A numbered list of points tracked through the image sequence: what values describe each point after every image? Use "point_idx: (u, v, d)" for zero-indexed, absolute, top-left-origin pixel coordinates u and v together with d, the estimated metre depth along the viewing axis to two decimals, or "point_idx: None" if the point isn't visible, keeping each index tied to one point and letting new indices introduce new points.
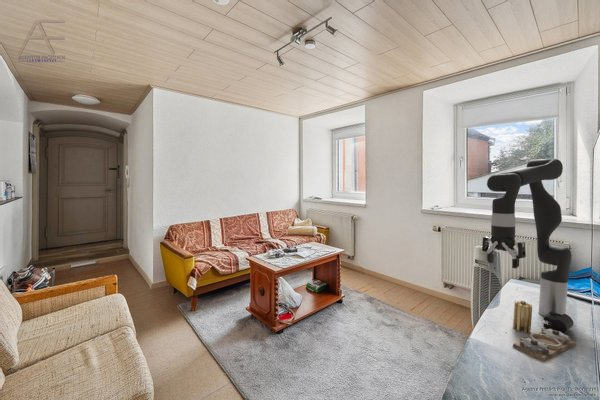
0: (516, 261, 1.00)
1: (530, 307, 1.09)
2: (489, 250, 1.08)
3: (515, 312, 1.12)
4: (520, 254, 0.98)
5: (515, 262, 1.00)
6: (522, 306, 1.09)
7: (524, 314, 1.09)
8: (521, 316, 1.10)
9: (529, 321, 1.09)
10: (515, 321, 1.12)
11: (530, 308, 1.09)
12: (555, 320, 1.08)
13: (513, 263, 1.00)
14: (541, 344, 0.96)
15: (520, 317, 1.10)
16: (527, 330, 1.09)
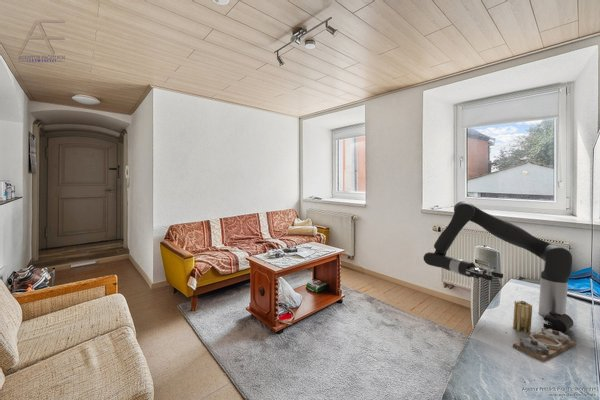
0: (484, 278, 1.20)
1: (530, 307, 1.09)
2: None
3: (515, 312, 1.12)
4: None
5: (485, 278, 1.20)
6: (522, 306, 1.09)
7: (524, 314, 1.09)
8: (521, 316, 1.10)
9: (529, 321, 1.09)
10: (515, 321, 1.12)
11: (530, 308, 1.09)
12: (555, 320, 1.08)
13: (487, 279, 1.20)
14: (541, 344, 0.96)
15: (520, 317, 1.10)
16: (527, 330, 1.09)
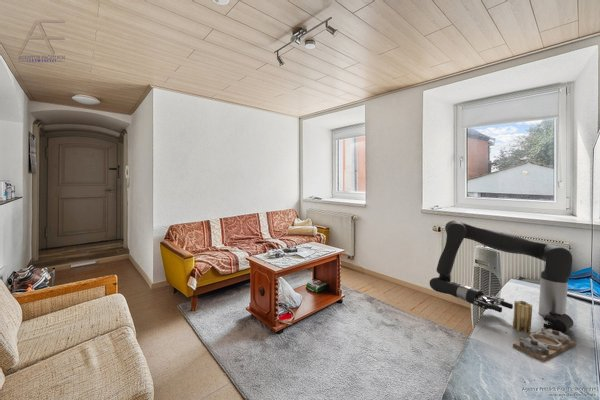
0: (493, 309, 1.17)
1: (530, 307, 1.09)
2: None
3: (515, 312, 1.12)
4: None
5: (494, 309, 1.17)
6: (522, 306, 1.09)
7: (524, 314, 1.09)
8: (521, 316, 1.10)
9: (529, 321, 1.09)
10: (515, 321, 1.12)
11: (530, 308, 1.09)
12: (555, 320, 1.08)
13: None
14: (541, 344, 0.96)
15: (520, 317, 1.10)
16: (527, 330, 1.09)
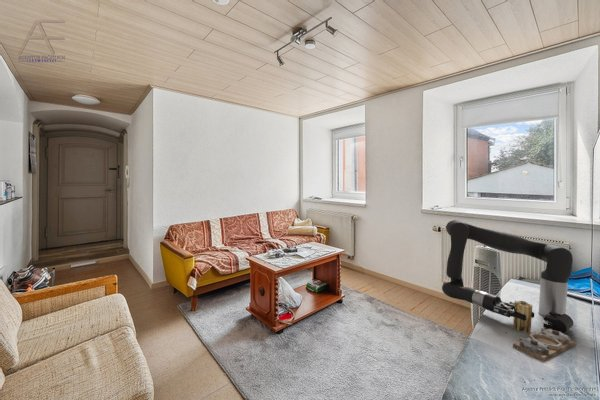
0: (516, 317, 1.10)
1: (530, 307, 1.09)
2: None
3: None
4: None
5: (518, 317, 1.10)
6: (522, 306, 1.09)
7: (524, 314, 1.09)
8: None
9: (529, 321, 1.09)
10: (515, 321, 1.12)
11: (530, 308, 1.09)
12: (555, 320, 1.08)
13: None
14: (541, 344, 0.96)
15: None
16: (527, 330, 1.09)
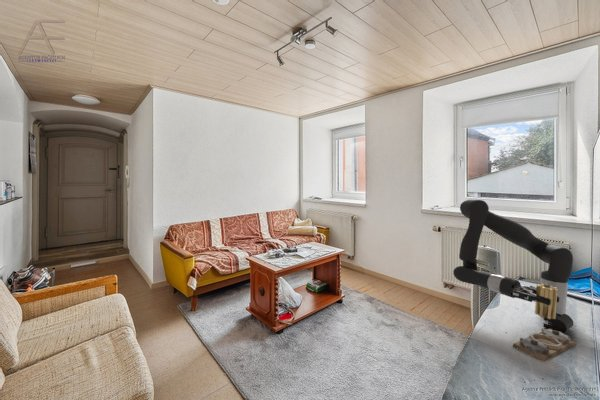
0: (539, 301, 0.98)
1: (555, 290, 0.97)
2: None
3: None
4: None
5: (541, 302, 0.98)
6: (546, 289, 0.98)
7: (548, 298, 0.97)
8: None
9: (554, 306, 0.97)
10: (537, 306, 1.00)
11: (555, 291, 0.97)
12: (555, 320, 1.08)
13: (543, 303, 0.98)
14: (541, 344, 0.96)
15: None
16: (551, 316, 0.98)
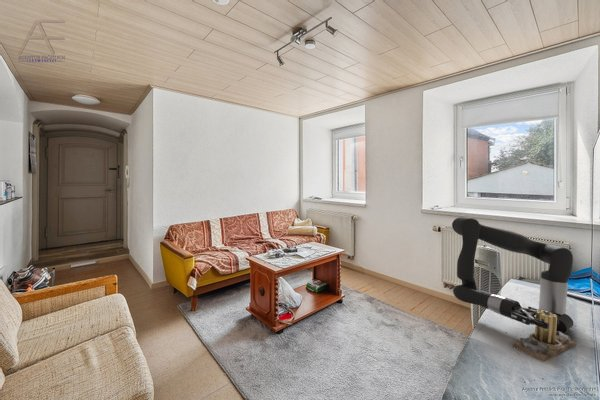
0: (536, 324, 0.98)
1: (555, 318, 0.97)
2: None
3: None
4: None
5: (538, 325, 0.98)
6: (546, 316, 0.98)
7: (548, 326, 0.97)
8: None
9: (554, 333, 0.97)
10: (537, 333, 1.00)
11: (555, 319, 0.97)
12: None
13: None
14: (541, 344, 0.96)
15: (543, 329, 0.98)
16: (551, 343, 0.98)
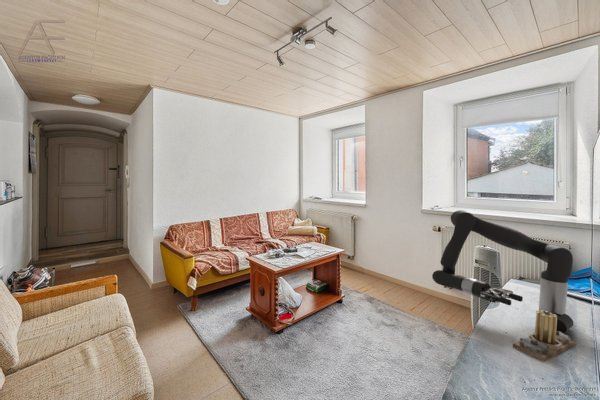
0: (501, 302, 1.09)
1: (555, 318, 0.97)
2: None
3: (537, 323, 1.00)
4: None
5: (503, 302, 1.08)
6: (546, 316, 0.98)
7: (548, 326, 0.97)
8: (544, 327, 0.98)
9: (554, 333, 0.97)
10: (537, 333, 1.00)
11: (555, 319, 0.97)
12: None
13: None
14: (541, 344, 0.96)
15: (543, 329, 0.98)
16: (551, 343, 0.98)
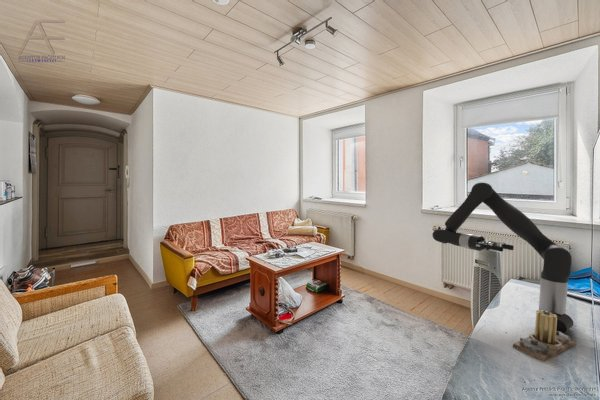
0: (494, 249, 1.21)
1: (555, 318, 0.97)
2: None
3: (537, 323, 1.00)
4: (485, 249, 1.23)
5: None
6: (546, 316, 0.98)
7: (548, 326, 0.97)
8: (544, 327, 0.98)
9: (554, 333, 0.97)
10: (537, 333, 1.00)
11: (555, 319, 0.97)
12: None
13: (497, 250, 1.20)
14: (541, 344, 0.96)
15: (543, 329, 0.98)
16: (551, 343, 0.98)
